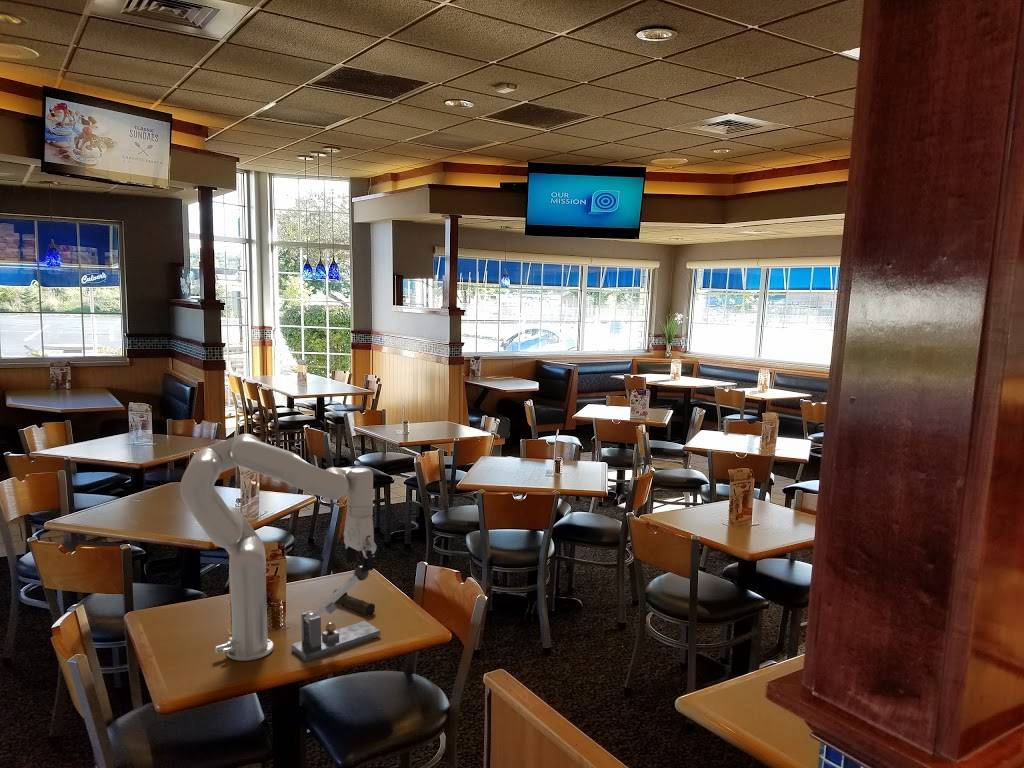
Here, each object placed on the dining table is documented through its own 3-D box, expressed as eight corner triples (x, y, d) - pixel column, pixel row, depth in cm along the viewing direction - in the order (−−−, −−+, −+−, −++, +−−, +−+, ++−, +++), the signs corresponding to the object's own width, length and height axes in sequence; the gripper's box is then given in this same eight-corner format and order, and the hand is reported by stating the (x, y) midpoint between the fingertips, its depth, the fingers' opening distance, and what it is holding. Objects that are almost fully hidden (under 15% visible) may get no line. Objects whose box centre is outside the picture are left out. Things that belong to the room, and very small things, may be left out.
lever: (314, 631, 207) (306, 619, 205) (307, 626, 211) (299, 614, 209) (374, 576, 219) (367, 564, 217) (367, 572, 223) (359, 560, 221)
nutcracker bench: (306, 661, 204) (305, 624, 203) (291, 650, 210) (290, 613, 209) (380, 636, 220) (379, 601, 219) (364, 626, 226) (364, 592, 225)
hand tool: (375, 614, 236) (375, 600, 236) (366, 618, 233) (365, 604, 233) (339, 599, 248) (339, 586, 248) (330, 602, 245) (329, 589, 245)
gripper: (334, 505, 220) (333, 560, 222) (363, 518, 208) (363, 576, 209) (356, 501, 225) (355, 555, 227) (386, 514, 213) (385, 571, 214)
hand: (359, 565), depth 218 cm, fingers open, 9 cm apart
